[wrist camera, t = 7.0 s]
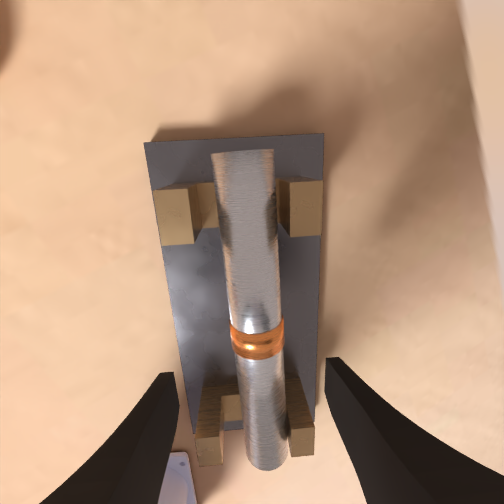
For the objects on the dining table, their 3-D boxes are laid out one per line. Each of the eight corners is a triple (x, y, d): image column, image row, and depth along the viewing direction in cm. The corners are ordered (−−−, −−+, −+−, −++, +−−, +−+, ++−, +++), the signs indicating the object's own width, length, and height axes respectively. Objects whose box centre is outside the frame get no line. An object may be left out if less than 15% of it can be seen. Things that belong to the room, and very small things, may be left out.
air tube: (273, 419, 21) (298, 455, 18) (237, 440, 20) (258, 482, 17) (255, 152, 15) (289, 147, 12) (199, 155, 13) (223, 151, 11)
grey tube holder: (311, 411, 23) (331, 475, 18) (194, 422, 23) (184, 491, 18) (318, 135, 16) (354, 123, 11) (149, 143, 15) (111, 135, 11)
